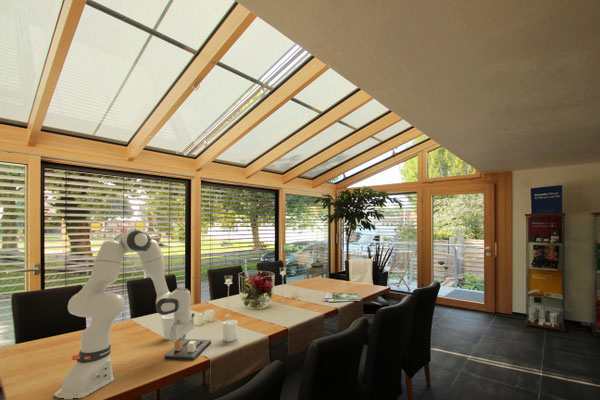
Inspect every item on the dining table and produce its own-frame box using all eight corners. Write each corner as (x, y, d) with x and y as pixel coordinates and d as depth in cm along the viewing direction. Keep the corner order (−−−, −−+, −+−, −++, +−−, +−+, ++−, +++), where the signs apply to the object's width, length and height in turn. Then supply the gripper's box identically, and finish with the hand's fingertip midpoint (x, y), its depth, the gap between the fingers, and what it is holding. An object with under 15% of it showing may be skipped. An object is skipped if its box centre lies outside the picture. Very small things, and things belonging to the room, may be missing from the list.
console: (193, 360, 157) (193, 356, 157) (164, 359, 159) (164, 355, 159) (211, 343, 178) (211, 339, 179) (185, 342, 180) (185, 339, 181)
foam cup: (157, 339, 186) (158, 317, 187) (168, 334, 195) (168, 313, 196) (170, 341, 183) (171, 319, 184) (181, 335, 192) (181, 314, 193)
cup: (224, 342, 179) (224, 325, 180) (221, 336, 190) (221, 319, 191) (238, 340, 182) (238, 323, 183) (234, 333, 193) (234, 317, 194)
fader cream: (192, 353, 161) (192, 343, 162) (187, 353, 162) (187, 343, 162) (195, 351, 165) (195, 341, 165) (190, 350, 165) (190, 340, 165)
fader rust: (179, 352, 163) (179, 342, 164) (174, 352, 164) (174, 342, 164) (182, 349, 167) (182, 339, 167) (177, 349, 167) (177, 339, 168)
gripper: (178, 323, 159) (177, 351, 158) (196, 312, 180) (195, 336, 179) (166, 323, 160) (166, 350, 159) (185, 312, 180) (185, 336, 179)
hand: (182, 343), depth 169 cm, fingers closed
